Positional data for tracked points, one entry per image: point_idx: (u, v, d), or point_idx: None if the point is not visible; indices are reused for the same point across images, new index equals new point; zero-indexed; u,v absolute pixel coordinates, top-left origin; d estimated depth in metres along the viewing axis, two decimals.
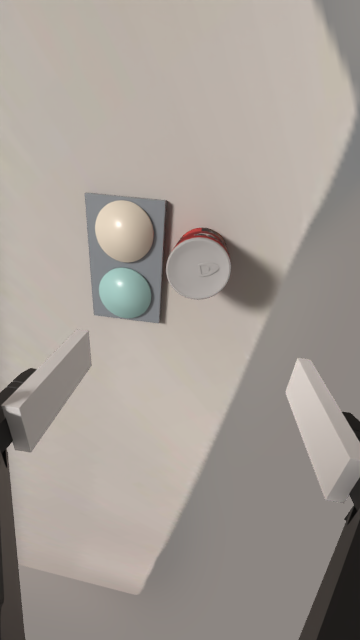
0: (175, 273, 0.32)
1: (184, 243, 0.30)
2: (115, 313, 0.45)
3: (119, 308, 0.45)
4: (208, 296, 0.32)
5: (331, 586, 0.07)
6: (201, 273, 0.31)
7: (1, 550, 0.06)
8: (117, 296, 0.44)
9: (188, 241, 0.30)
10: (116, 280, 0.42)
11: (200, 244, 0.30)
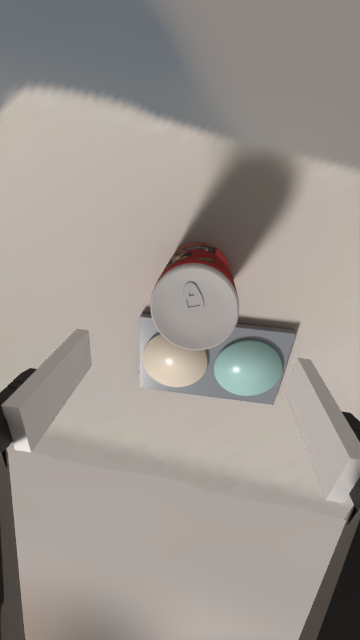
0: (198, 338, 0.23)
1: (157, 327, 0.23)
2: (273, 383, 0.35)
3: (267, 378, 0.35)
4: (234, 296, 0.21)
5: (331, 586, 0.07)
6: (199, 306, 0.22)
7: (1, 550, 0.06)
8: (249, 378, 0.35)
9: (154, 322, 0.22)
10: (228, 376, 0.35)
11: (158, 307, 0.22)
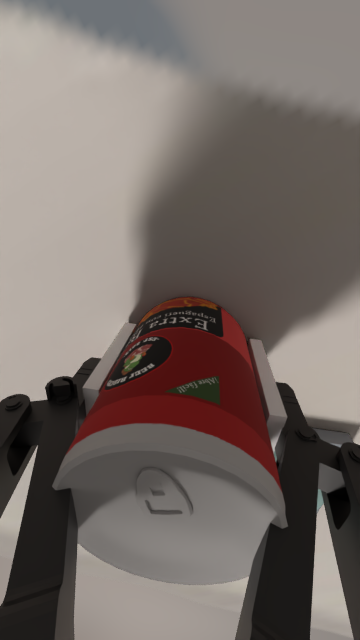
0: (179, 562, 0.10)
1: (78, 542, 0.09)
2: None
3: None
4: (278, 516, 0.07)
5: (264, 540, 0.07)
6: (179, 514, 0.08)
7: (67, 530, 0.07)
8: None
9: None
10: None
11: None
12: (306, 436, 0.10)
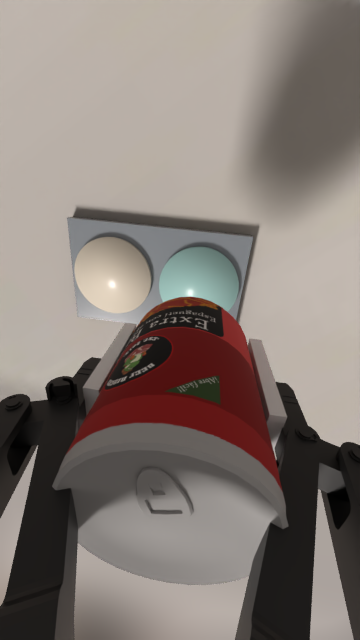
0: (180, 562, 0.10)
1: (78, 541, 0.09)
2: (229, 306, 0.30)
3: (222, 299, 0.29)
4: (278, 515, 0.07)
5: (264, 540, 0.07)
6: (179, 514, 0.08)
7: (67, 530, 0.07)
8: None
9: None
10: (177, 296, 0.30)
11: None
12: (306, 436, 0.10)
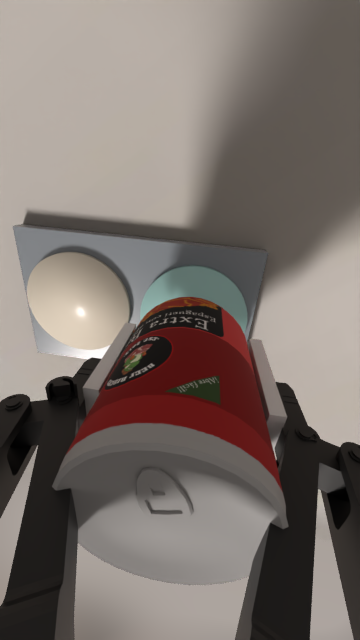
0: (179, 562, 0.10)
1: (79, 541, 0.09)
2: None
3: None
4: (279, 516, 0.07)
5: (264, 540, 0.07)
6: (179, 514, 0.08)
7: (67, 530, 0.07)
8: None
9: None
10: None
11: None
12: (306, 436, 0.10)
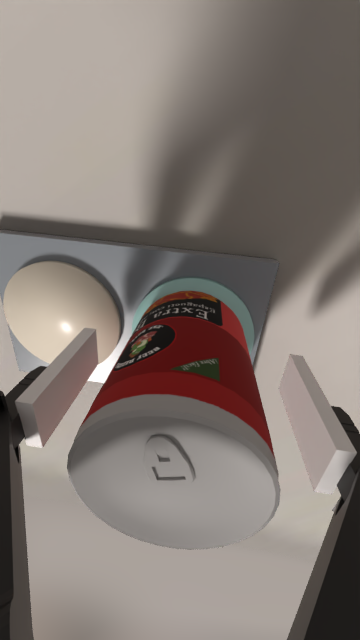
0: (182, 528, 0.10)
1: (90, 508, 0.10)
2: None
3: None
4: (271, 477, 0.08)
5: (320, 577, 0.07)
6: (182, 480, 0.09)
7: (12, 545, 0.07)
8: None
9: (83, 500, 0.10)
10: None
11: (87, 476, 0.09)
12: None
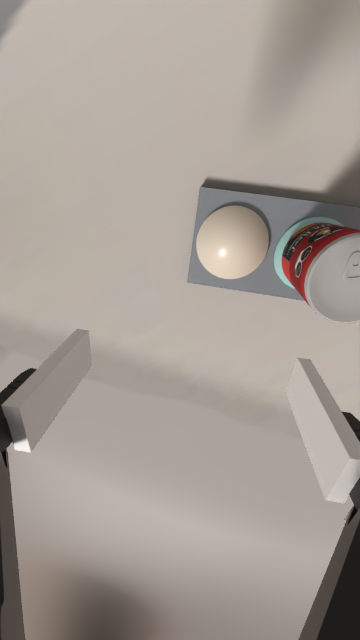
0: (347, 311, 0.23)
1: (310, 297, 0.23)
2: None
3: None
4: None
5: (331, 586, 0.07)
6: (359, 276, 0.22)
7: (1, 550, 0.06)
8: None
9: (308, 291, 0.23)
10: None
11: (316, 276, 0.22)
12: None
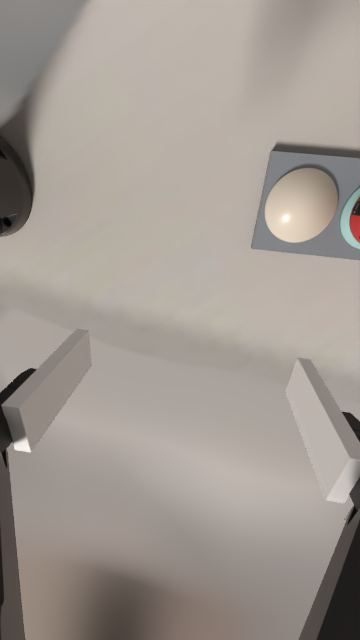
0: None
1: None
2: None
3: None
4: None
5: (331, 586, 0.07)
6: None
7: (1, 550, 0.06)
8: None
9: None
10: None
11: None
12: None
